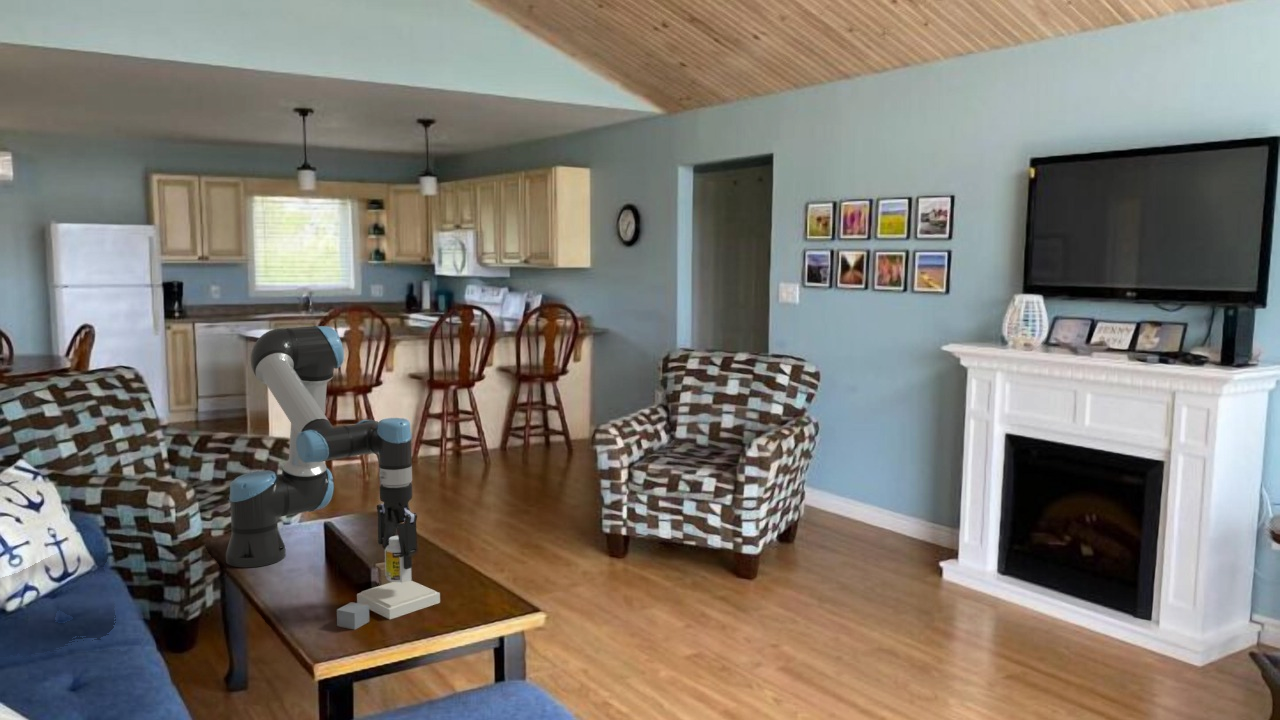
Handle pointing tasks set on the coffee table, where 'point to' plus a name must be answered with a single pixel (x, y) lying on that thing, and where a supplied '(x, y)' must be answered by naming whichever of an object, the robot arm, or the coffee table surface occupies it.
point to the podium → (398, 598)
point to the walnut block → (382, 573)
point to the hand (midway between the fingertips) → (398, 577)
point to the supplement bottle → (393, 559)
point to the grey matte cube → (353, 615)
